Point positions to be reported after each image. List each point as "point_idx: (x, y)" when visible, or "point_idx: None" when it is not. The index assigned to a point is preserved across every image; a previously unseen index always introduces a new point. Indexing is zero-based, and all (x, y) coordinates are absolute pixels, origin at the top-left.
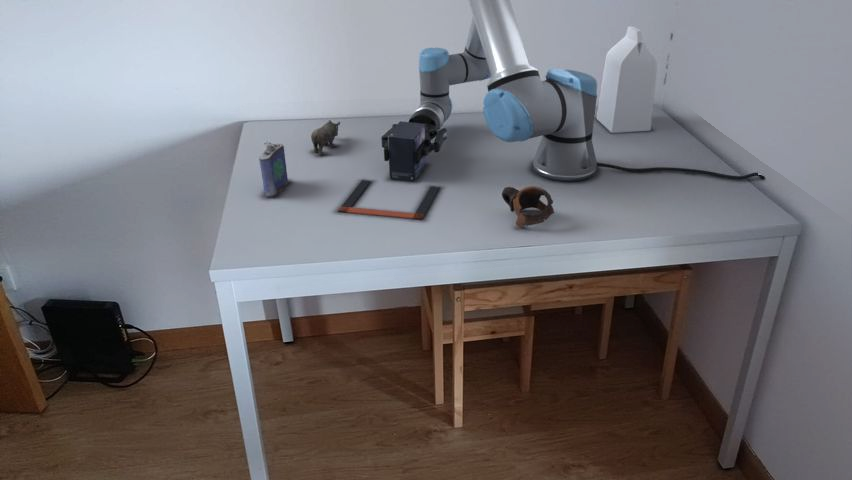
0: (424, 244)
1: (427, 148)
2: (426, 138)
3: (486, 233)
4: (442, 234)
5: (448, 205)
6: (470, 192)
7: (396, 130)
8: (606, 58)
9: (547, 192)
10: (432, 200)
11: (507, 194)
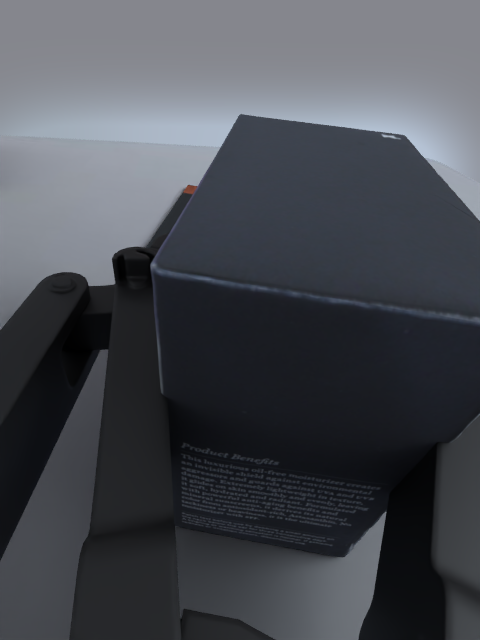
0: (183, 153)
1: (153, 249)
2: (146, 342)
3: (61, 155)
4: (149, 162)
5: (115, 216)
6: (15, 258)
7: (402, 163)
8: None
9: None
10: (158, 230)
11: None
